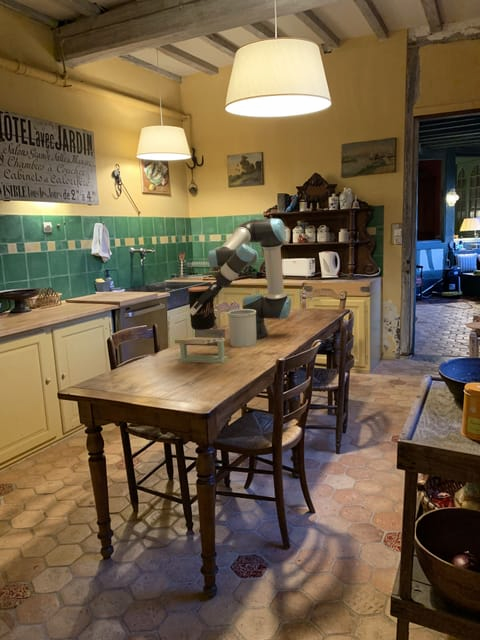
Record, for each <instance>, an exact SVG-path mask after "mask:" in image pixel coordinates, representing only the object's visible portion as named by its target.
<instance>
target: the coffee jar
mask: <svg viewBox="0 0 480 640" xmlns="http://www.w3.org/2000/svg"><path fill="white" fill-rule="evenodd" d="M210 286H211V285H210ZM210 286H209V285H207V286H205V285H203V286H193V287H188V288H187V290H188V292H189V293H188V302H189V310H190V309H191V308H192V307H193V305H194V304H195V303H196V302H197V300H196V299H198V298H199V297H200V296H201V295H202V294H203V293H204V292H205V291H206V290H207V289H208V288H209V287H210ZM189 314H190V315H189V317H190V326H191V328H192V330H194V331H195V330H206V329H214V327H215V325H216V322H215V321H216V320H215V310H214V301H213V295H211V296H210V297H209V298H208V299H207V300H206V301H205V302H204V303H203V304H202V306H201V307H200V308H199V309H198V311H197V312H196V313H195V314H194V315H192V314H191V313H190V312H189Z"/></svg>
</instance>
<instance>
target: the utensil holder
mask: <svg viewBox="0 0 480 640" xmlns="http://www.w3.org/2000/svg"><path fill="white" fill-rule="evenodd" d="M227 317H228V331H229V332H228V333H229V342H230V345H231V346H232V347H235V348H250V347H252V346H255V345H256V344H257V339H256V310H253V309H243V308H238V309H237V308H236V309H232V310H229V311H228V312H227Z"/></svg>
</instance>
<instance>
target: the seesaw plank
mask: <svg viewBox="0 0 480 640" xmlns="http://www.w3.org/2000/svg"><path fill="white" fill-rule="evenodd" d="M219 340H224V342H225V341H226V329H225V328H223V329H222V328H211V329H206V330H195V329H194V336H193V337H188V338H181V339H174V344H179V345H180V344H185V345H187V346H202V347H203V346H206V347H211V346H212V347H218V346H217V341H219Z"/></svg>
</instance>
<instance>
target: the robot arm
mask: <svg viewBox="0 0 480 640" xmlns="http://www.w3.org/2000/svg"><path fill="white" fill-rule="evenodd" d="M286 233H287V232H286V227H285V224H284V222H283V220H282V219H280V218H273V217H272V218H264V219H263V218H262V219H261V218H260V219H259V218H258V219H250V220H247V221H245V222H243V223H241V224H239V226H237V227H236V228H235V229H234V230H233V231H232V235H230V237H229V238H228V239H227V240H226V241H225V242H224V243H223V244H222V245H221V246H220V247H219V248H218V249H212V250H209V252H208V254H207V261H208V265H209V266H210V267H214V268H216V267H217V268H218V267H220V269H219V270H218V271H217V272H216V274H215V275H214V279H215V282H212V284H210V287H209V288H208V289H207V290H206V291H205V292H204V293H203V294H202V295H201V296H200V297H199V298H198V299H196V300H197V302H196V303H195V304H194V305H193V307H192V308H191V309H190V308H189V310H188V312H189V314H190V313H191V314H192V315H194V314H195V313H196V312H197V311H198V309H199V308H200V307H201V306H202V304H203V303H204V302H205V301H206V300H207V299H208V298H209V297H210V296H211V295H213V302H214V301H215V298H216V297H217V296H218V294H219V293H220V292H221V290H222V289H223V288H228V287H229V286H231V284H232V283H233V281H234V280H235V279H238V278H239V275H240V274H241V272H242V271H244V269H245V268H247V267H252V266H254V265H256V263H257V262H258V261H259V259H260V258H259V257H260V256H259V253H258V251H256V249H253V248H252V247H251V246H249V245H248V244H249V243H257V244H258V243H259V245H260V247H261V249H263V254H264V263H265V264H264V266H265V274H266V277H265V278H266V285H267V286H266V287H267V293H266V294H265V297H264V294H263V293H262V294H253V295H248V296H245V297H243V298H242V305H241V306H242V309H253V310H256V340H263V339H266V338H268V336H269V332H268V330H267V326H266V324H265V319H270V320H273V319H276V320H277V319H279V320H281V319H288V318H289V316H290V313H291V307H292V298H291V297H289V296H288V293H287V292H286V291H285V286H284V277H283V276H284V275H283V265H282V252H281V247H282V246H283V244H284V242H285V241H286V239H287V236H286V235H287V234H286Z"/></svg>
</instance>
